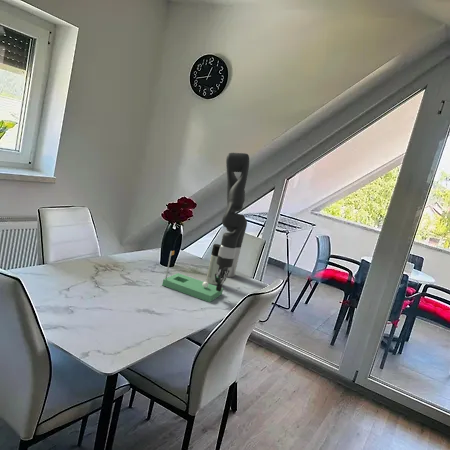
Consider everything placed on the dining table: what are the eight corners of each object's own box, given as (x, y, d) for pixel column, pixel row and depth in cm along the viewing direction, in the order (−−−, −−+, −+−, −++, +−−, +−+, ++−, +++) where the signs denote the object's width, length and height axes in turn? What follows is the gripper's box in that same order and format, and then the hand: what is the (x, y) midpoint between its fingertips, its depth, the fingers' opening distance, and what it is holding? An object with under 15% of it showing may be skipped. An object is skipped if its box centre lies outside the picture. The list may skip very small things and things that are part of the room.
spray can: (216, 285, 217) (224, 248, 213) (204, 282, 218) (211, 245, 214) (219, 282, 223) (227, 246, 220) (207, 279, 224) (215, 242, 221)
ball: (203, 286, 203) (204, 280, 202) (208, 288, 202) (210, 282, 201) (200, 287, 200) (202, 281, 200) (206, 289, 199) (207, 283, 199)
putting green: (177, 278, 215) (183, 246, 212) (221, 294, 206) (229, 261, 203) (162, 285, 201) (168, 251, 198) (209, 302, 192) (217, 266, 189)
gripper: (224, 251, 203) (216, 285, 206) (213, 255, 191) (205, 291, 194) (238, 255, 200) (230, 289, 203) (228, 260, 188) (220, 296, 191)
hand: (218, 290), depth 198 cm, fingers closed
